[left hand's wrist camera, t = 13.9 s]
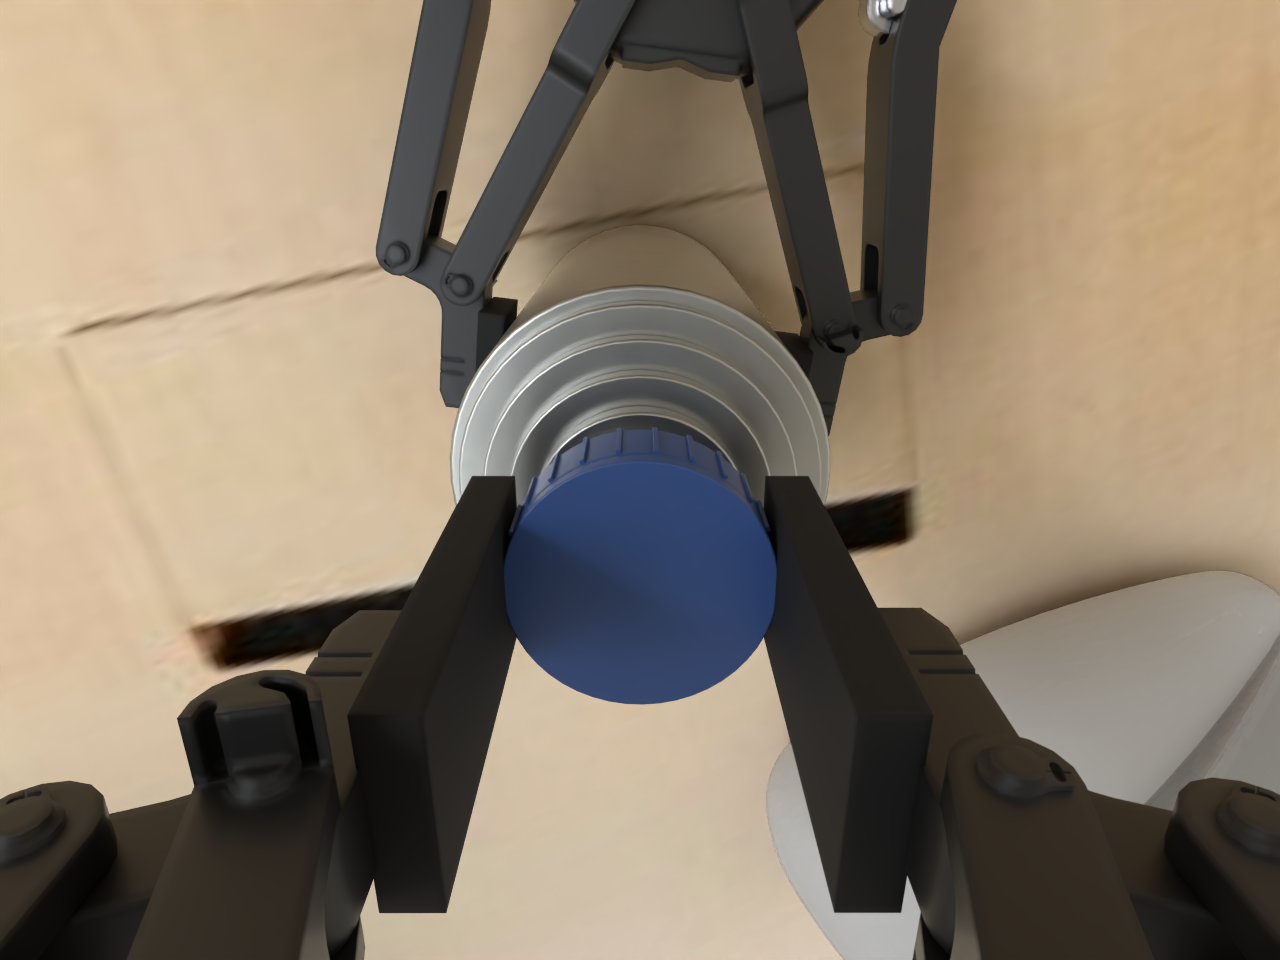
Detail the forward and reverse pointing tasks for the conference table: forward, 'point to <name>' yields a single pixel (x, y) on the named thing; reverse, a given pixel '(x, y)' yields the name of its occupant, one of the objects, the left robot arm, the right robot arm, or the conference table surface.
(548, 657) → the cap
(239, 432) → the conference table surface
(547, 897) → the conference table surface
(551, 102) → the right robot arm
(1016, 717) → the projector
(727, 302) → the bottle
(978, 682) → the left robot arm
